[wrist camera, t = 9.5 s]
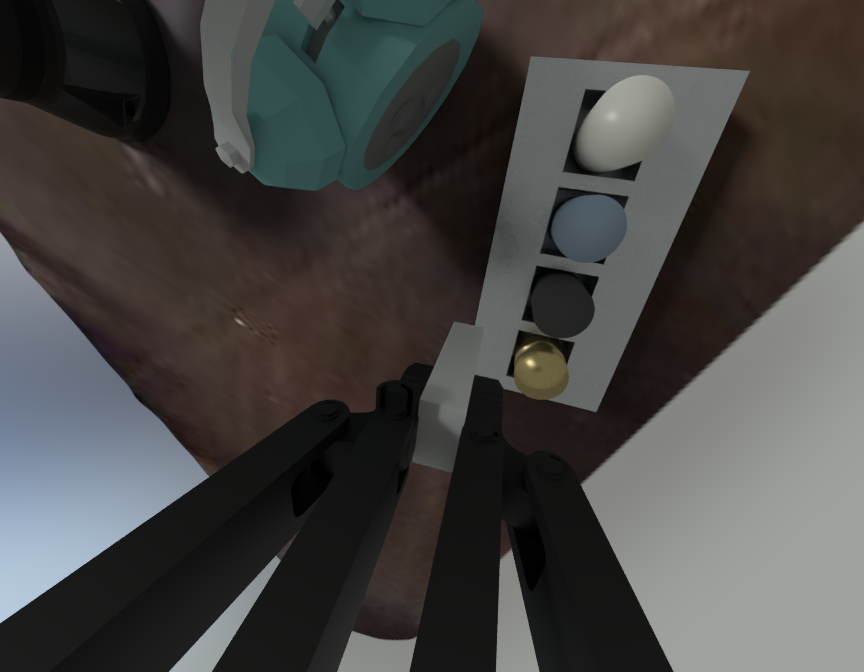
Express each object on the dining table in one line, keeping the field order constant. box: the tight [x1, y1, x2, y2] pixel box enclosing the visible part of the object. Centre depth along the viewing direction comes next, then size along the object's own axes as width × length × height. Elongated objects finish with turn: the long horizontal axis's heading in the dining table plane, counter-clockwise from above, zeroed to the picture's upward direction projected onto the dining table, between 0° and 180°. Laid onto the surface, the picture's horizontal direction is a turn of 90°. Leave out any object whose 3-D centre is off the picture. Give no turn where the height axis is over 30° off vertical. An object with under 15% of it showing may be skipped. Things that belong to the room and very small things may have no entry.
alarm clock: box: [200, 0, 484, 191], centre depth 19 cm, size 17×10×20 cm, turn 136°
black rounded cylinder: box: [530, 268, 595, 338], centre depth 26 cm, size 4×4×6 cm
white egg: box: [573, 75, 675, 174], centre depth 21 cm, size 4×4×6 cm
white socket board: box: [474, 56, 750, 412], centre depth 27 cm, size 13×26×4 cm, turn 172°
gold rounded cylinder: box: [514, 332, 569, 400], centre depth 29 cm, size 4×4×6 cm
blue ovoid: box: [549, 195, 627, 263], centre depth 24 cm, size 4×4×6 cm
